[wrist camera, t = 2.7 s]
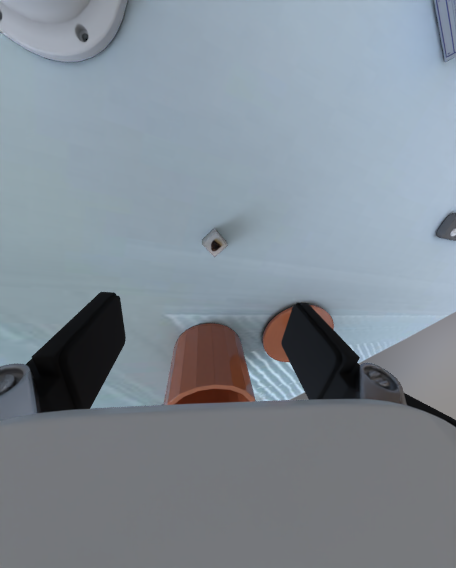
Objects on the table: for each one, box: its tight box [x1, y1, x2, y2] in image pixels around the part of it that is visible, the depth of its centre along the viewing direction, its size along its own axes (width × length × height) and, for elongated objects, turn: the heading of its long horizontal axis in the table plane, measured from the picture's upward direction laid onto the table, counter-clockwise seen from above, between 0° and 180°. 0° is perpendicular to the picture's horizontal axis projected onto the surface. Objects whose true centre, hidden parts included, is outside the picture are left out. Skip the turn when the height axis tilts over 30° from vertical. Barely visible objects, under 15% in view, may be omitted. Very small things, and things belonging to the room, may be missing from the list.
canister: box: [164, 323, 256, 405], centre depth 27 cm, size 11×12×10 cm
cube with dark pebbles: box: [202, 228, 228, 257], centre depth 22 cm, size 2×2×2 cm
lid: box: [263, 305, 334, 362], centre depth 30 cm, size 12×12×6 cm
